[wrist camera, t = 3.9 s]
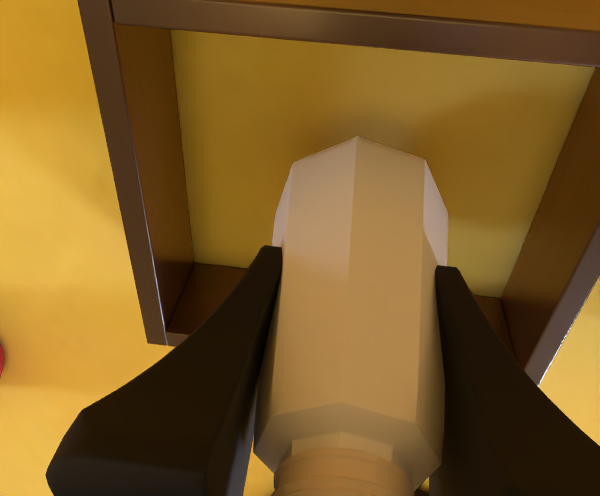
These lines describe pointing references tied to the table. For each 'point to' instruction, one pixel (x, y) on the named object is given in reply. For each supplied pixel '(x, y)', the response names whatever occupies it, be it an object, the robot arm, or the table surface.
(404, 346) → the salt shaker
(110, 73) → the rectangular frame
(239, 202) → the table surface
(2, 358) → the canned food
